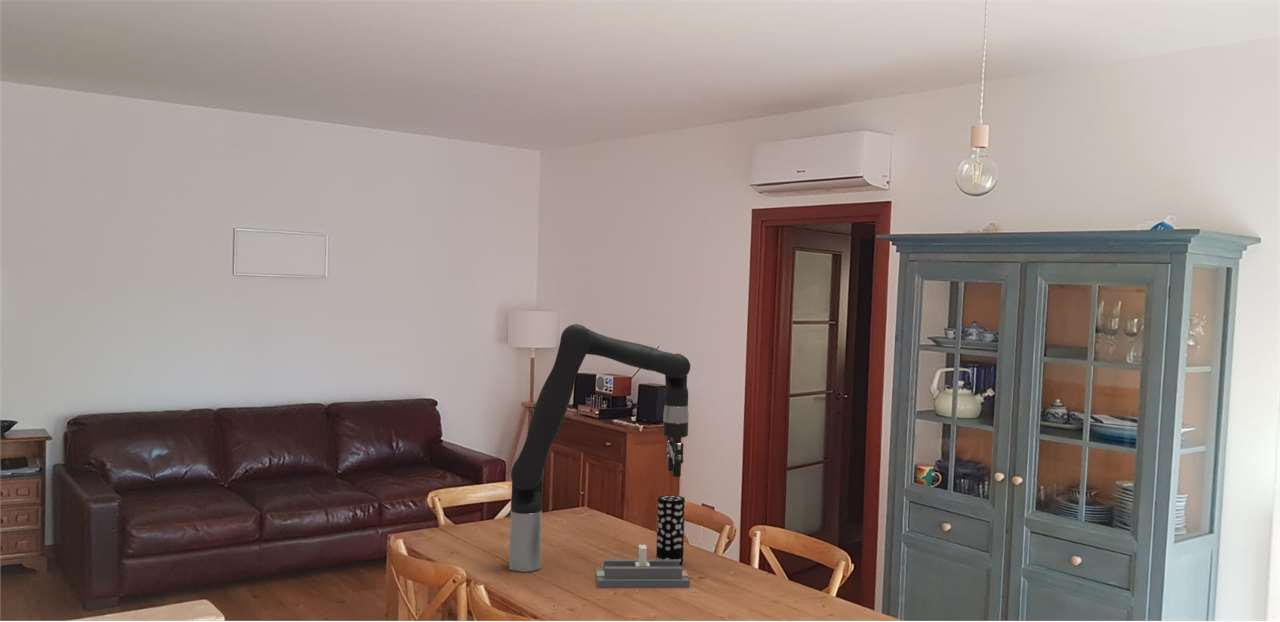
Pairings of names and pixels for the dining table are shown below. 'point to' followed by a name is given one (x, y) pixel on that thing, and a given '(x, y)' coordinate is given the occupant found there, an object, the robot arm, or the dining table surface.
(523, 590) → the dining table surface
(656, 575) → the breaker panel
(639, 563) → the breaker handle
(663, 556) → the spotted tube
